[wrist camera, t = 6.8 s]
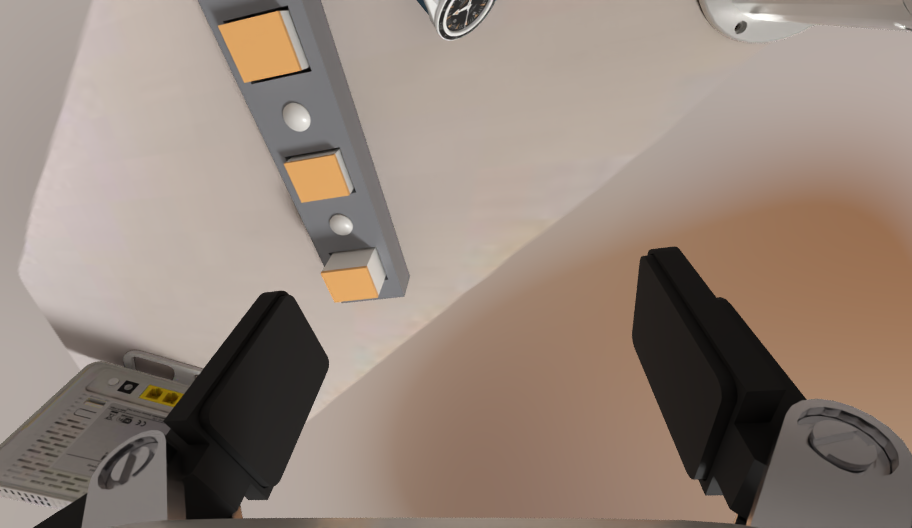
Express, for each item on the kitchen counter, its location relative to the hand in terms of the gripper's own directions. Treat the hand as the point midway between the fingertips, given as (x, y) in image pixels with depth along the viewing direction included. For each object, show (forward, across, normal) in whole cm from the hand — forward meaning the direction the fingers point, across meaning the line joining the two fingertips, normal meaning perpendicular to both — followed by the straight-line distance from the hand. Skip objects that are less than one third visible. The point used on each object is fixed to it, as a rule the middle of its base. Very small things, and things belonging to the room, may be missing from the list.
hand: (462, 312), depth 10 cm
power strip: (+30, +16, +4) cm, 34 cm away
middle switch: (+29, +16, +4) cm, 34 cm away
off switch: (+27, +16, +15) cm, 35 cm away
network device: (+30, +56, +36) cm, 73 cm away
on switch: (+29, +16, -7) cm, 34 cm away
